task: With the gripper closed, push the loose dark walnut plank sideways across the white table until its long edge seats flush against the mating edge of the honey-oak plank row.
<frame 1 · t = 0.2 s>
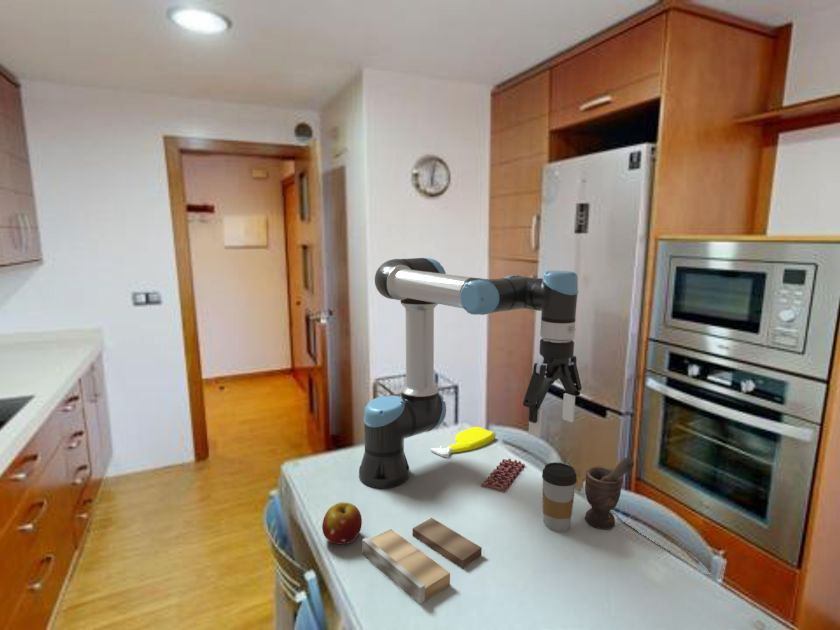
hand: (551, 427, 115), 27 cm above the table, fingers open, 13 cm apart
mortar and pestle: (606, 524, 124), on the table
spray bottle: (463, 446, 169), on the table
plank row: (406, 567, 107), on the table
walnut plank: (445, 547, 115), on the table
chocolate bar: (504, 477, 148), on the table
fruit: (342, 538, 117), on the table
coffee cup: (556, 525, 123), on the table
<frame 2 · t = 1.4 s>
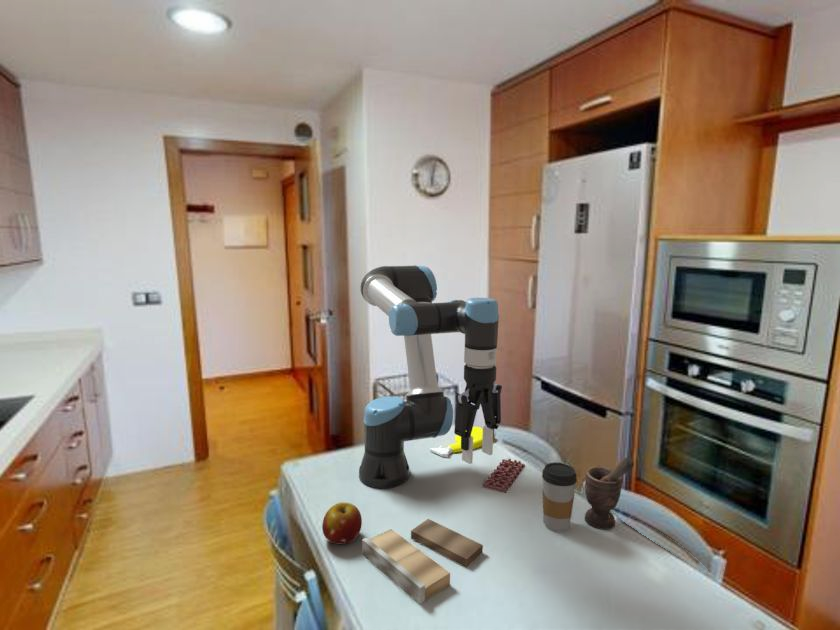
hand: (477, 457, 118), 19 cm above the table, fingers open, 6 cm apart
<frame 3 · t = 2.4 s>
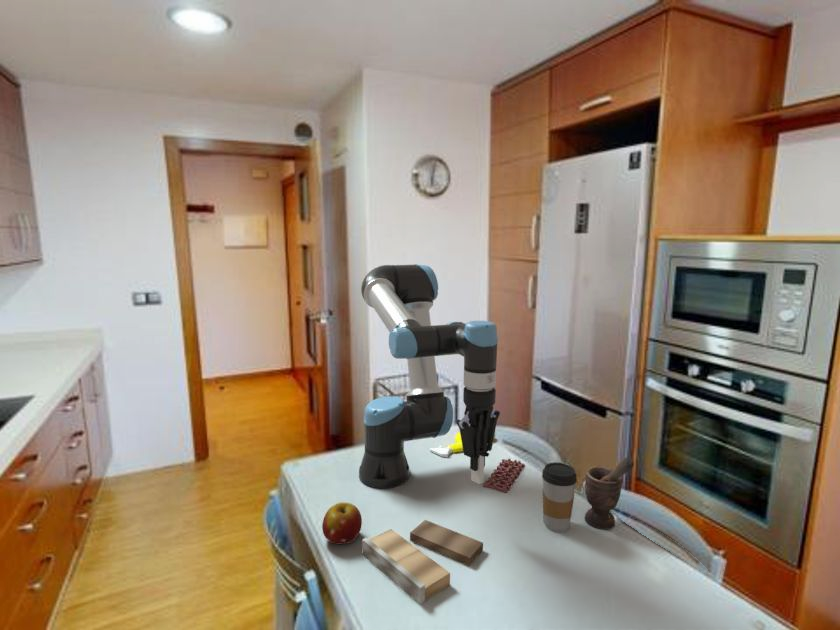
hand: (477, 481, 119), 13 cm above the table, fingers closed
nothing on the table moved.
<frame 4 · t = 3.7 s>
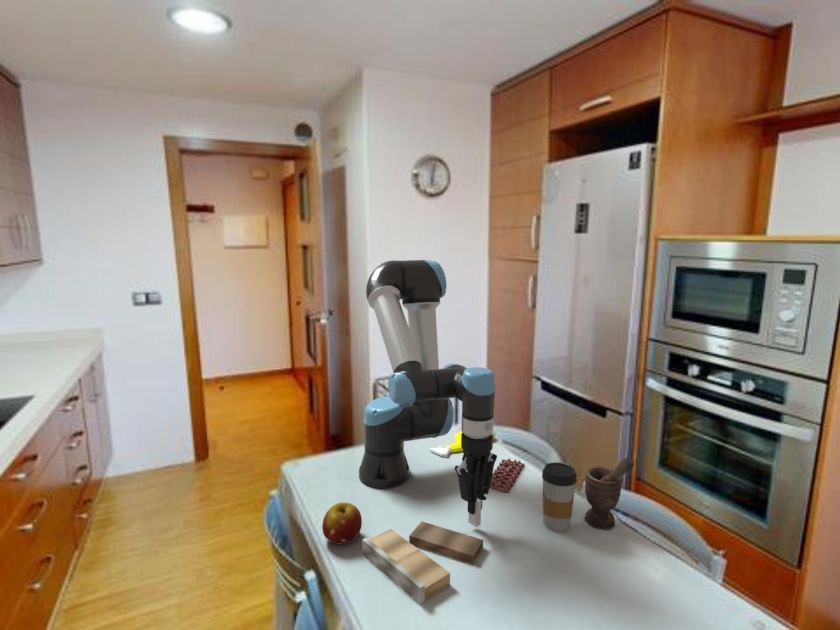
hand: (474, 523, 121), 2 cm above the table, fingers closed
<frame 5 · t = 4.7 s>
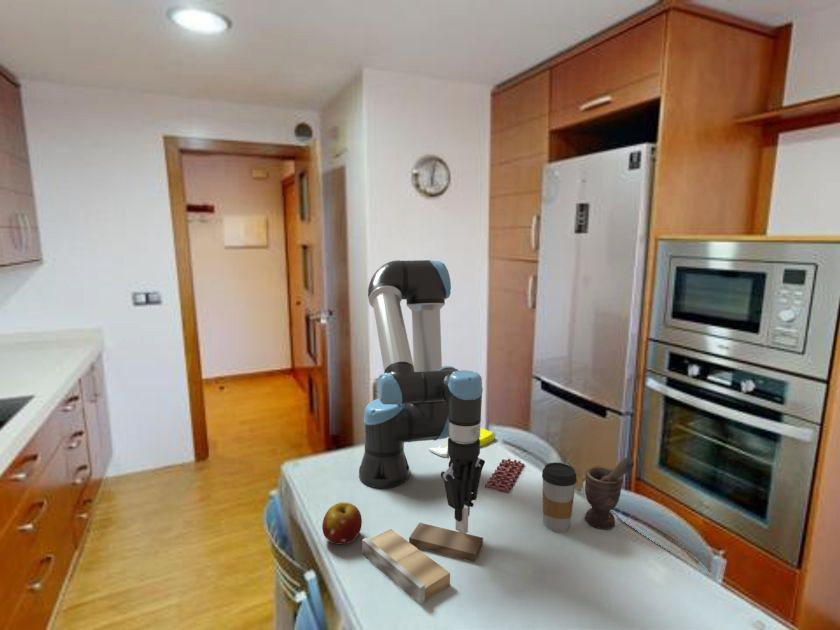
hand: (461, 530, 118), 2 cm above the table, fingers closed
walnut plank: (445, 547, 115), on the table, touching gripper
everything else where it was.
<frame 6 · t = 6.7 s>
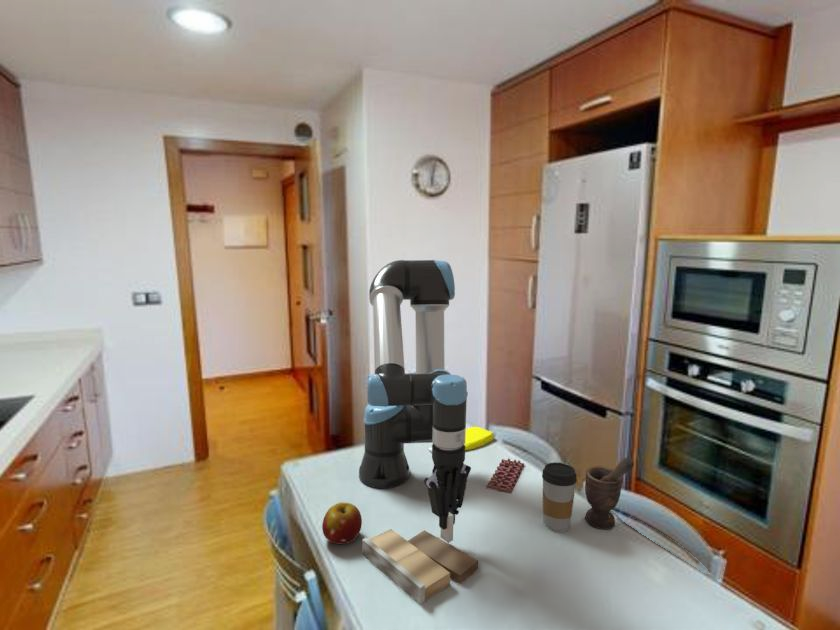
hand: (446, 538, 115), 2 cm above the table, fingers closed
walnut plank: (440, 561, 110), on the table
everything else where it was.
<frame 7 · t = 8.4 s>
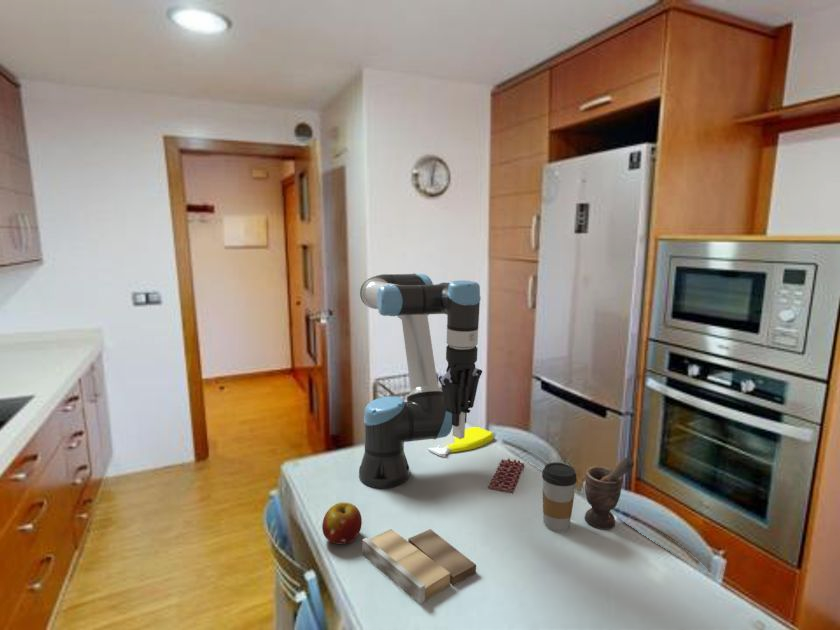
hand: (458, 436, 123), 22 cm above the table, fingers closed
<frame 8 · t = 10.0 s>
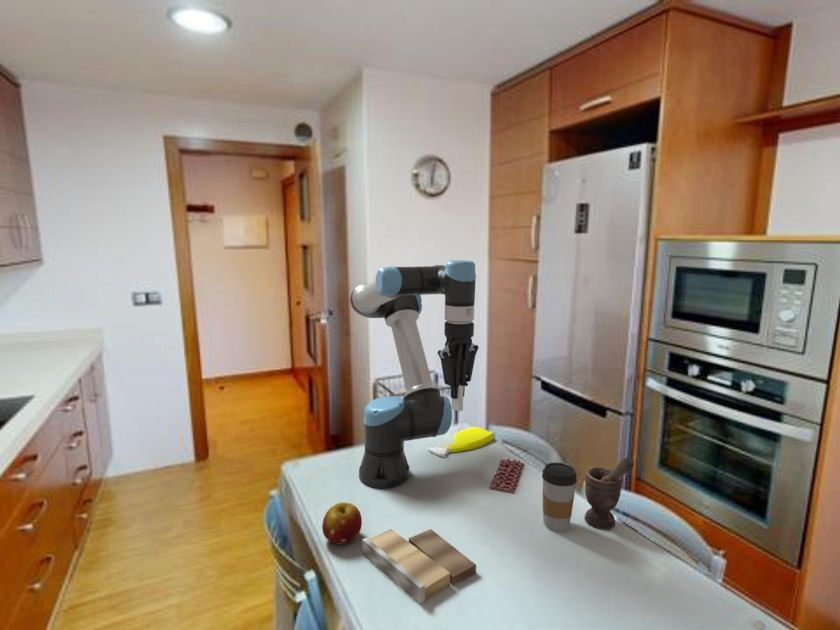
hand: (457, 409, 129), 26 cm above the table, fingers closed
at the end: walnut plank inside the target area (3.0 cm from its centre), on the table; walnut plank tilted 0°; walnut plank moved 5.2 cm from its start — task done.
